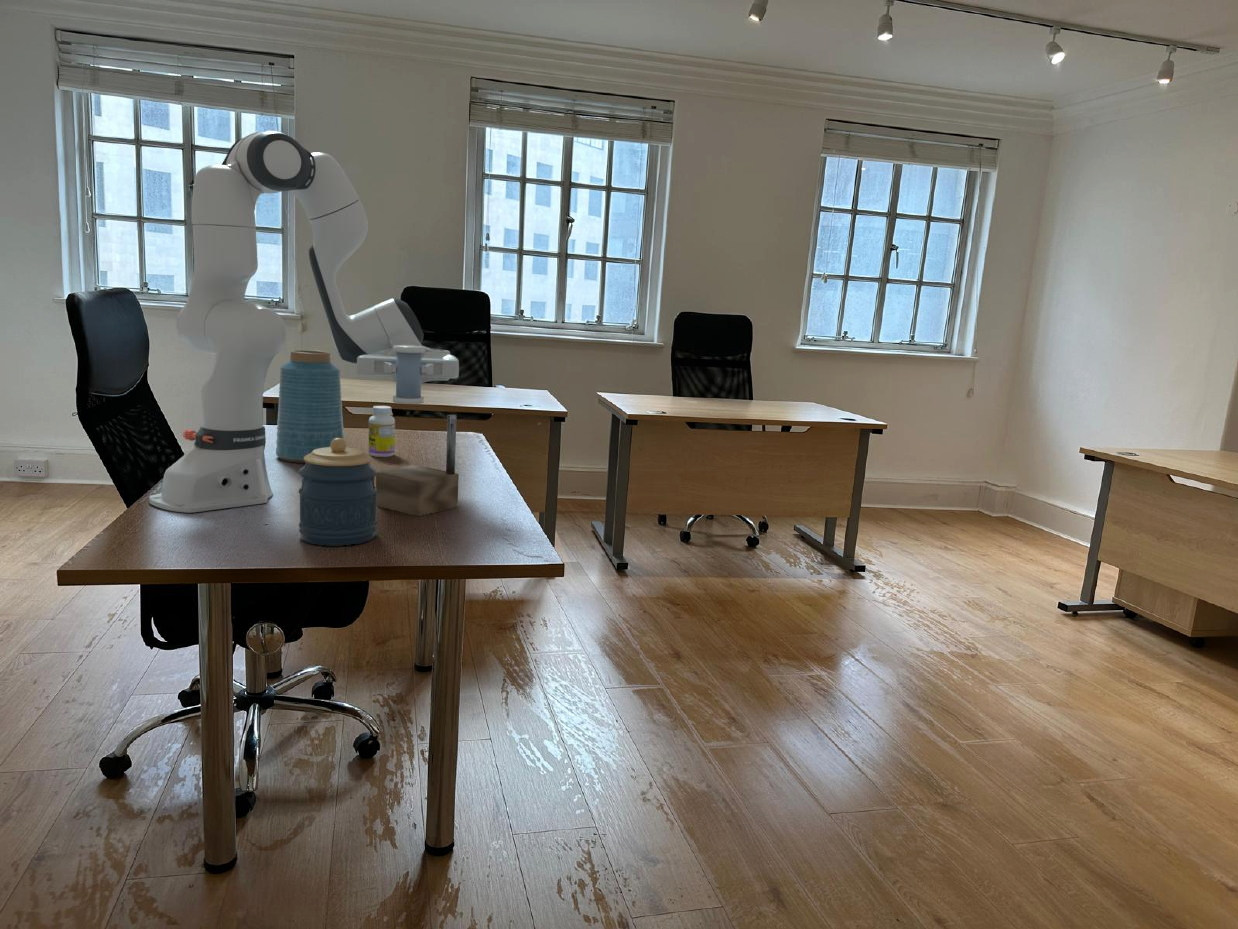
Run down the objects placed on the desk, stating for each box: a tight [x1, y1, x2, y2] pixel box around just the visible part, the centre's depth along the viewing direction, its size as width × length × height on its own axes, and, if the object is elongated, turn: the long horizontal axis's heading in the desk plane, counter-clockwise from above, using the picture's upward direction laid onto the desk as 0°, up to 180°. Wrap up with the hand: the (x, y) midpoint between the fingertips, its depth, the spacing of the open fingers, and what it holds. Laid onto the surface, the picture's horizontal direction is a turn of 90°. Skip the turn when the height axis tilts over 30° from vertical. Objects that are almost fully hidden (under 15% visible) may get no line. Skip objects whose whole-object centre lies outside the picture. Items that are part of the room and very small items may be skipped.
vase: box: [275, 349, 345, 464], centre depth 210 cm, size 16×16×27 cm
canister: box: [297, 438, 378, 547], centre depth 147 cm, size 13×13×18 cm
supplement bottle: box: [368, 405, 396, 458], centre depth 221 cm, size 7×7×13 cm
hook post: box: [445, 414, 457, 475], centre depth 169 cm, size 2×6×12 cm, turn 14°
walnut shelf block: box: [375, 464, 460, 517], centre depth 172 cm, size 11×12×7 cm
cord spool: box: [392, 345, 426, 405], centre depth 167 cm, size 6×6×11 cm
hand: (408, 369), depth 166 cm, fingers closed on cord spool, 5 cm apart
